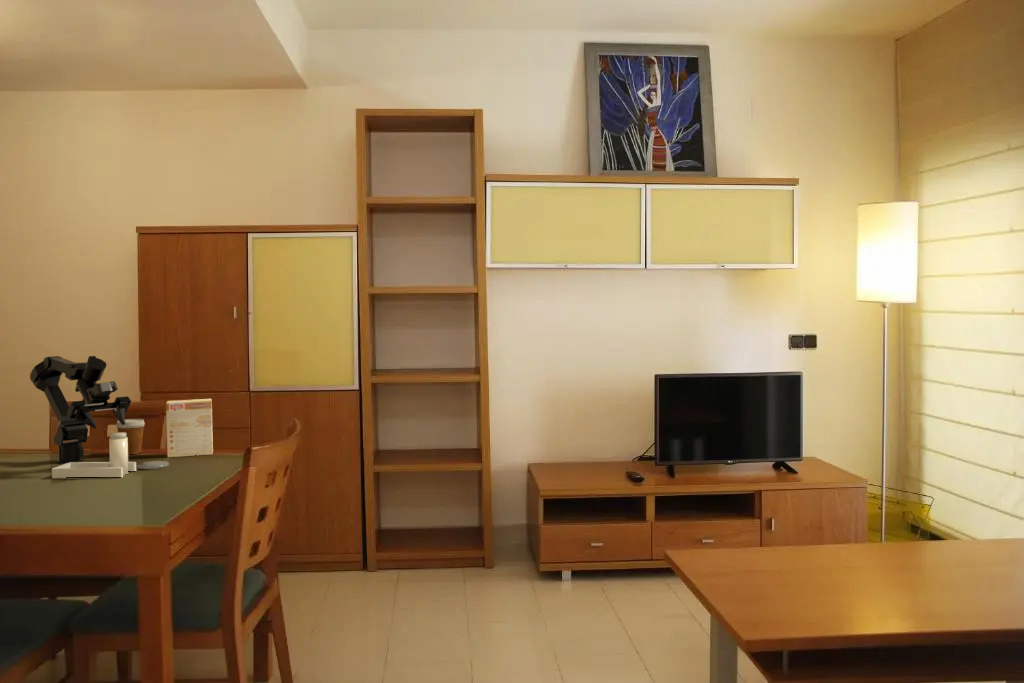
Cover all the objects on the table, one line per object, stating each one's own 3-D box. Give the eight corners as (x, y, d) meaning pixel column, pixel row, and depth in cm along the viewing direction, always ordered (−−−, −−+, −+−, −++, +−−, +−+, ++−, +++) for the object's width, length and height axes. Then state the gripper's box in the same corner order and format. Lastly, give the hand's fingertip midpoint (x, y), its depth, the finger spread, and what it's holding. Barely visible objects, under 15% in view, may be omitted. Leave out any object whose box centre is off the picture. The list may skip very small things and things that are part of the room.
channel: (52, 478, 245) (51, 468, 245) (69, 471, 255) (69, 462, 255) (121, 477, 245) (121, 468, 245) (136, 471, 255) (136, 461, 255)
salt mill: (106, 476, 248) (105, 434, 247) (115, 473, 253) (113, 432, 252) (123, 476, 248) (122, 434, 247) (131, 472, 253) (130, 432, 252)
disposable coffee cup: (137, 456, 281) (137, 422, 281) (111, 456, 281) (110, 422, 281) (150, 451, 291) (149, 418, 290) (124, 451, 291) (124, 418, 290)
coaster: (129, 470, 257) (129, 466, 257) (143, 463, 267) (143, 461, 267) (160, 469, 257) (160, 466, 257) (173, 463, 267) (173, 460, 267)
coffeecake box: (213, 451, 290) (212, 398, 289) (212, 454, 283) (211, 400, 283) (168, 454, 285) (167, 400, 284) (167, 457, 278) (165, 402, 277)
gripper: (68, 376, 251) (88, 411, 245) (126, 372, 266) (146, 405, 260) (58, 401, 256) (77, 436, 249) (115, 395, 271) (135, 428, 265)
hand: (110, 425), depth 256 cm, fingers open, 9 cm apart
